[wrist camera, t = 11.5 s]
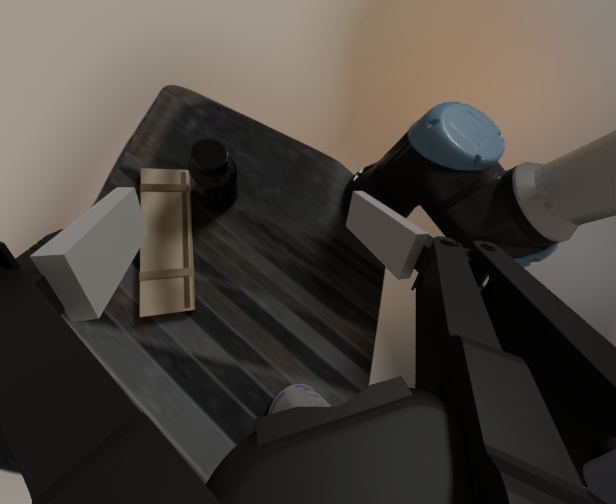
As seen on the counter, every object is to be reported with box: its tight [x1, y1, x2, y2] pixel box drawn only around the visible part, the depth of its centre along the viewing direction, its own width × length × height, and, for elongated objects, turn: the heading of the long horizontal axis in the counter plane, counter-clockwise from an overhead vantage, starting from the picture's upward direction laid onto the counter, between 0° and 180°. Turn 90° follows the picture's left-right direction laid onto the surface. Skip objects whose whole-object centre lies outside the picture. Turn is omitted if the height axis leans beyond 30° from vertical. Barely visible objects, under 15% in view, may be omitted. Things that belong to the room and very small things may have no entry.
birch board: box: [139, 168, 195, 317], centre depth 37 cm, size 7×24×2 cm, turn 8°
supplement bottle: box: [189, 139, 238, 210], centre depth 36 cm, size 7×7×12 cm
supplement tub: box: [268, 384, 331, 415], centre depth 30 cm, size 10×10×15 cm
